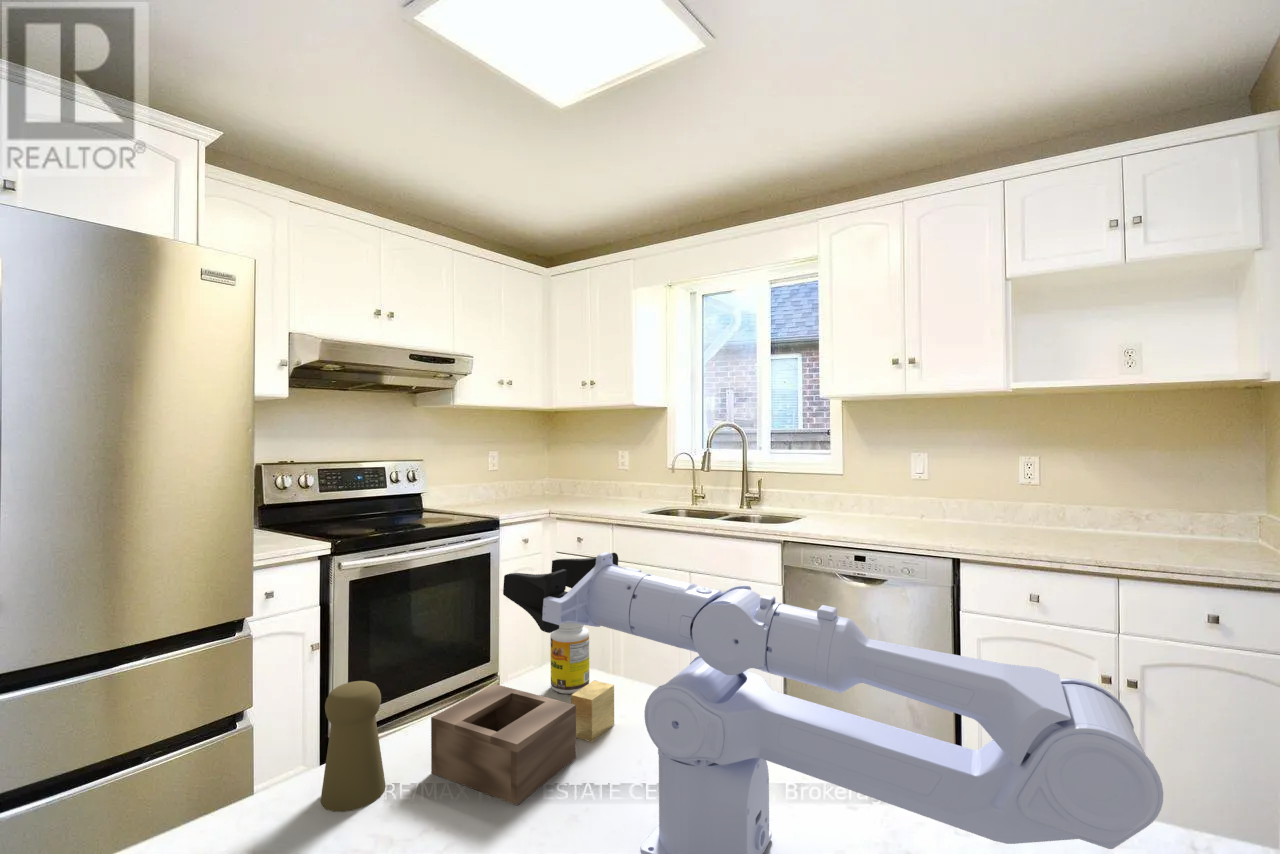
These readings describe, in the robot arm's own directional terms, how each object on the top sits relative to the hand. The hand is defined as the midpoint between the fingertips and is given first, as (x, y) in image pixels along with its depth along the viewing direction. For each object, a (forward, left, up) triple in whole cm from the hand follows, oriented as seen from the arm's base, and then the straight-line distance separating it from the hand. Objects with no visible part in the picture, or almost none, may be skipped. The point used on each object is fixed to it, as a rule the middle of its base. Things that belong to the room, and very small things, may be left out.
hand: (530, 576), depth 65 cm
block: (+1, -13, -22) cm, 25 cm away
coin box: (+5, -1, -22) cm, 22 cm away
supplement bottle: (+11, -22, -22) cm, 33 cm away
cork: (+15, +10, -22) cm, 28 cm away
